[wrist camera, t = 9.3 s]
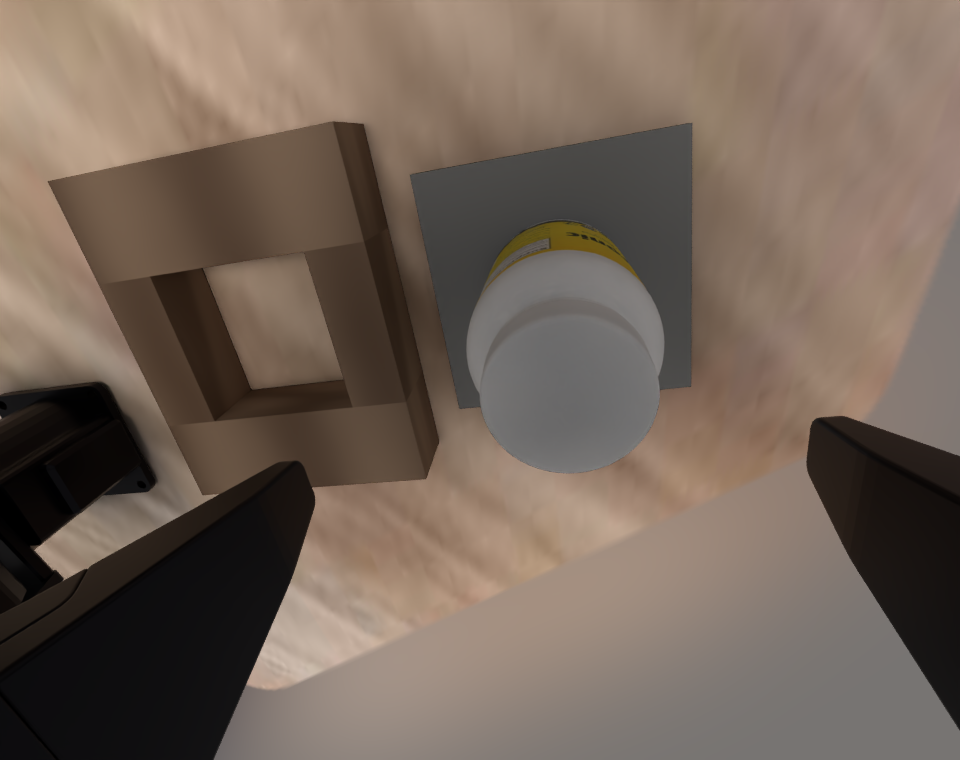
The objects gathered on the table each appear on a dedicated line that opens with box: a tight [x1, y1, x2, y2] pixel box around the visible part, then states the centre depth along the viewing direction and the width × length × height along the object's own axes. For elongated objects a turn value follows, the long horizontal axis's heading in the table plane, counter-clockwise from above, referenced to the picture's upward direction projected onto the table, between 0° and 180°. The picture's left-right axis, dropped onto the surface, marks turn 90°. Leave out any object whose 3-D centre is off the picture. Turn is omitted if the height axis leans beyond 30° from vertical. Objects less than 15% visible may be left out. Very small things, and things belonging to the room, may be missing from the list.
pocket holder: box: [48, 122, 439, 495], centre depth 21 cm, size 11×14×3 cm
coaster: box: [410, 123, 692, 409], centre depth 20 cm, size 10×10×1 cm
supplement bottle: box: [466, 219, 665, 473], centre depth 16 cm, size 5×5×10 cm
